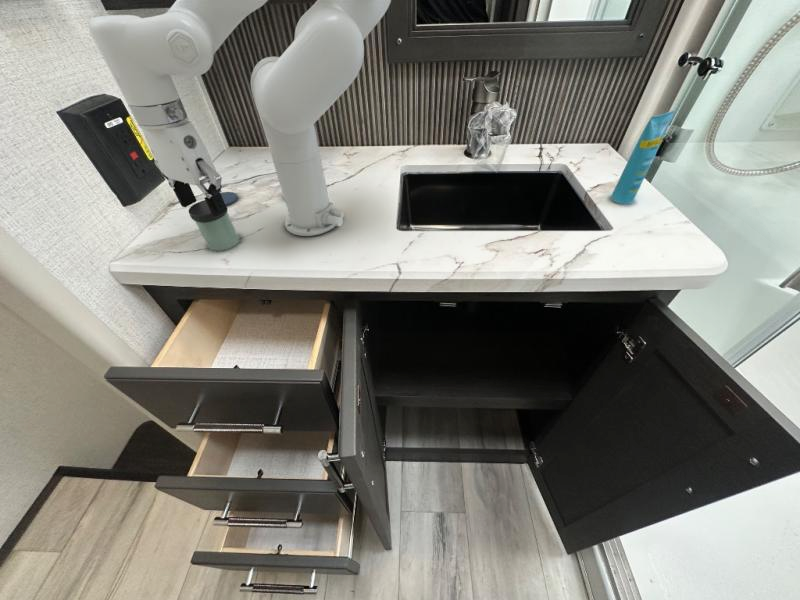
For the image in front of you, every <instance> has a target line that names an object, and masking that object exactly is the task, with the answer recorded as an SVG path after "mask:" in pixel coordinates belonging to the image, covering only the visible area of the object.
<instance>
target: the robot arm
mask: <svg viewBox="0 0 800 600" xmlns="http://www.w3.org/2000/svg"><path fill="white" fill-rule="evenodd" d="M268 1H269V0H175V1H174V3H173V4H172V5H171V6H170V7H169V9H168V10H167V11H166V12H164V13H162V14H157V15H153V16H147V17H141V16H138V15H133V14H114V15H111V14H110V15H100V16H95V17H92V18H91V19H90V20H89V21H88V29H89V32H90V34H91V36H92V39H93V41H94V42H95V45H96V46H97V48H98V50H99V52H100V54H101V56H102V58H103V60H104V62H105V64H106V66H107V68H108V70H109V72H110V73H111V75H112V77H113V79H114V81H115V83H116V86H117V87H118V89H119V90H120V92H121V95H122V96H123V98H124V100H125V102H126V104H127V106H128V109H129V110H130V112H131V114H132V116H133V117H134V119H135V121H136V124H137V125H138V127H139V128H140V129H141V130H142V133H143V136H144V138H145V140H146V143H147V145H148V147H149V149H150V151H151V154H152V156H153V158H154V165H155V166H156V168H157V169H158V170H159V171H160V172H161V175H162V176H163V178H165V179H166V180H167V182H168V185H169V187H170V188H172V191H173V192H174V194H175V196H176V198H177V200H178V202H179V204H180V206H181V207H182V208H187V207H189V206H190V205H191V206H192V205H194V204H196V203H197V198H196V196H195V194H194V192H193V190H192V187H191V186H190V185H193V186H197V187H198V189H199V190H200V191H201V192H202V193H203V195H204V196H205V197H204V199H203V200H205V201H206V203H207V205H208V207H209V210H210V212H211V214H212V216H214V217H217V216H218V215H220V214H222V213H224V212H225V211H227V212H228V209H227V208H228V207H227V208H226V205H225V203H224V200H223V198H222V196H221V193H222V179H223V178H222V176H221V174H219V173H218V172H217V169H216V167H215V165H214V162H213V159H212V158H211V156H210V153H209V152H208V149H207V147H206V146H205V143H204V142H203V139H202V138H201V136H200V134H199V132H198V130H197V129H196V128H195V125H194V124H193V123H192V121H191V120H189V117H188V113H187V111H186V109H185V107H184V104H183V102H182V100H181V98H180V95H179V93H178V90H177V88H176V86H175V84H174V81H173V78H172V76H181V77H182V76H183V77H199V76H202V75H203V74H206V73H207V72H208V71H209V70H210V68H211V67H212V65H213V63H214V57H215V54H216V52H217V51H218V50H219V49H220V47H222V45H223V44H224V43H225V41H226V39H227V38H228V37H229V36H230V35H231V34H232V32H233V31H234V30H235V29H236V28H237V27H238V25H239V24H240V23H242V21H243V20H245V19H246V17H248V16H249V15H250V14H251V13H253V12H255V11H256V10H258V9H260V8H261V7H263V6H264V5H265V4H266V3H267V2H268ZM391 2H392V0H316V1H315V2H314V4H312V5H311V7H310V8H309V9H307V10H306V11H305V12H304V14H302V16H300V18H299V20H298V22H297V23H296V25H295V26H296V27H295V30H294V35H293V37H294V39H293V41H292V42H291V43H290V45H289V46H288V47H287V48H286V49H285V50H284V52H283V53H282V54H281V55H280V56H267V57H265V58H262V59H261V60H260V61H259V60H258V62H257V63H256V64H255V66H254V67H253V69H252V72H251V75H250V90H251V94H252V95H251V96H252V98H253V102H254V104H255V107H256V110H257V113H258V116H259V119H260V123H261V126H262V129H263V132H264V135H265V139H266V142H267V145H268V149H269V152H270V155H271V159H272V163H273V165H274V166H273V167H274V169H275V173H276V176H277V179H278V183H279V186H280V189H281V193H282V196H283V199H284V203H285V205H286V209H287V212H288V214H287V215H286V217H285V218H284V226H285V229H286V230H287V231H288V232H289V233H291V234H292V235H295V236H300V237H313V236H318V235H322V234H325V233H327V232H330V231H331V230H332V229H334V228H335V227H342V225H343V223H344V222H343V221H344V217H345V213H344V212H342V211H338V210H337V209H336V208H335V203H334V202H330V197H329V193H328V187H327V182H326V177H325V172H324V168H323V162H322V157H321V151H320V146H319V142H318V141H319V140H318V136H317V132H316V127H315V123H317V121H318V120H319V119H320V118H321V117H322V116H323V115H324V114H325V113H326V112H327V111H328V110H329V108H330V107H332V106H333V105H334V103H335V102H337V100H338V99H339V98H340V97H341V96H342V95H343V94H344V93H345V92H346V90H347V89H348V88H349V87H351V85H352V84H353V83H354V81H355V80H356V78H357V77H358V75H359V73H360V71H361V69H362V67H363V63H364V57H365V43H364V41H365V39H366V38H368V35H369V34H370V33H371V32H372V31H373V30H374V28H375V27H376V26H377V24H378V23H379V22H380V21H381V19H382V18H384V16H385V14H386V12H387V11H388V9H389V7H390V5H391ZM203 177H204V178H203ZM200 178H202V179H201V180H200ZM207 183H208V184H209V185H208V188H207V186H206V185H205V184H207Z"/></svg>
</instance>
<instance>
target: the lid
mask: <svg viewBox="0 0 800 600" xmlns="http://www.w3.org/2000/svg"><path fill="white" fill-rule="evenodd" d="M224 203H225V202H224ZM225 205H226V204H225ZM226 208H227V211H225V212H224V213H222V214H220V215H218V216H217V217H214V216H212V214H211V212H210V210H209V207H208V205H207V203H206V201H205V199H203V200H200V201H198V202H195V203H193V204H191V206H190V207H189V208H188V214H189V216H190V218H191V220H193V222H195V221H196V222H209V221H213V220H216V219H219V218H221V217H222V216H224V215H225V214H226V213H227V212H228V208H229V207H228V206H226ZM196 222H195V223H196Z"/></svg>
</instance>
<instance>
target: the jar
mask: <svg viewBox="0 0 800 600" xmlns="http://www.w3.org/2000/svg"><path fill="white" fill-rule="evenodd" d="M194 222H195V224H196V226H197V228H198V229H199V232H200V234H201V235H202V237H203V239H204V241H205V243H206V245H207V246H208V247H207V248H208V249H210V250H211V251H214V252H222V251H223V252H224V251H226V250H230V249H232V248H234V247H235V246H236V245H238V243H239V242H240V237H239V235H238V232H237V230H236V227H235V226H234V223H233V221H232V219H231V217H230V214H229V212H228V211H227V213H226V214H225V215H224V216H222V217H221V218H219V219H216V220H213V221H209V222H196V221H194Z"/></svg>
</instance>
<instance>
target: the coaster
mask: <svg viewBox="0 0 800 600" xmlns="http://www.w3.org/2000/svg"><path fill="white" fill-rule="evenodd" d="M221 196H222V198H223V200H224V202H225V204H226V206H227V207H228V206H231V205H233V204H234V203H236V202H237V201H238V199H239V197H238V195H237V193H235V192H233V191H223V192H222V191H221Z"/></svg>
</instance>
